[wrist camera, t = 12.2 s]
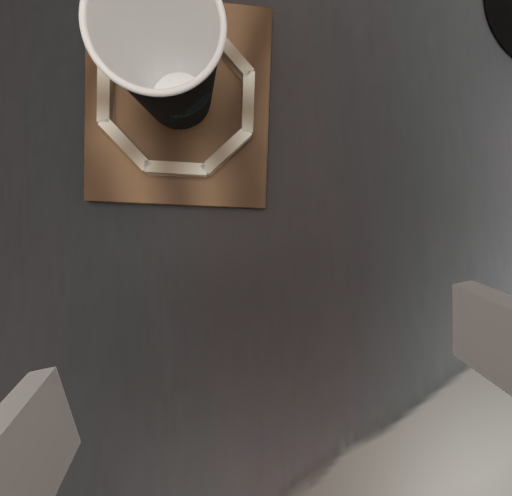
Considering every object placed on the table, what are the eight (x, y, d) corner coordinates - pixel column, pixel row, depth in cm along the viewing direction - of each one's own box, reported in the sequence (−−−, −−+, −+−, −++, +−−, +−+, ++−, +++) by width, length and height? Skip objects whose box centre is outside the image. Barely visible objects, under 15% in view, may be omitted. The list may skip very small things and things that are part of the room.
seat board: (270, 17, 30) (274, -4, 27) (263, 209, 31) (267, 206, 28) (91, -3, 28) (78, -26, 26) (89, 201, 29) (76, 198, 26)
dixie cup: (210, 160, 29) (202, 115, 18) (122, 130, 28) (58, 64, 17) (236, 75, 29) (245, -22, 18) (150, 43, 28) (102, -81, 17)
